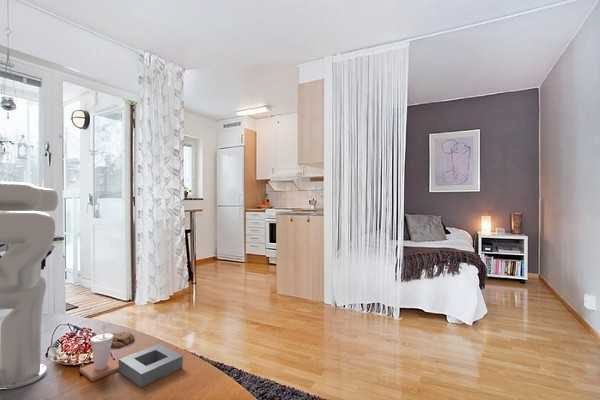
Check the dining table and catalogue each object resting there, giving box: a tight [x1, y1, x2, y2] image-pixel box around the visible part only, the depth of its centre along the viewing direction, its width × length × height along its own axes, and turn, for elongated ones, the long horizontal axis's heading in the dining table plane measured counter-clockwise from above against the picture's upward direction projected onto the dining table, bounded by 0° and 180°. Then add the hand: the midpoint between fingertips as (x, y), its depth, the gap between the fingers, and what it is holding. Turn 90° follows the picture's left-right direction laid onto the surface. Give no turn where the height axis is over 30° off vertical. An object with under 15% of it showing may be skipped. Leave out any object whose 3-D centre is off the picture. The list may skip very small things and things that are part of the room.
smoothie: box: [89, 323, 113, 370], centre depth 104 cm, size 6×6×14 cm
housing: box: [117, 343, 184, 388], centre depth 105 cm, size 14×14×4 cm
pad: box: [79, 356, 119, 382], centre depth 104 cm, size 9×9×1 cm
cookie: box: [111, 331, 135, 349], centre depth 124 cm, size 10×11×3 cm
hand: (24, 271), depth 116 cm, fingers open, 9 cm apart
